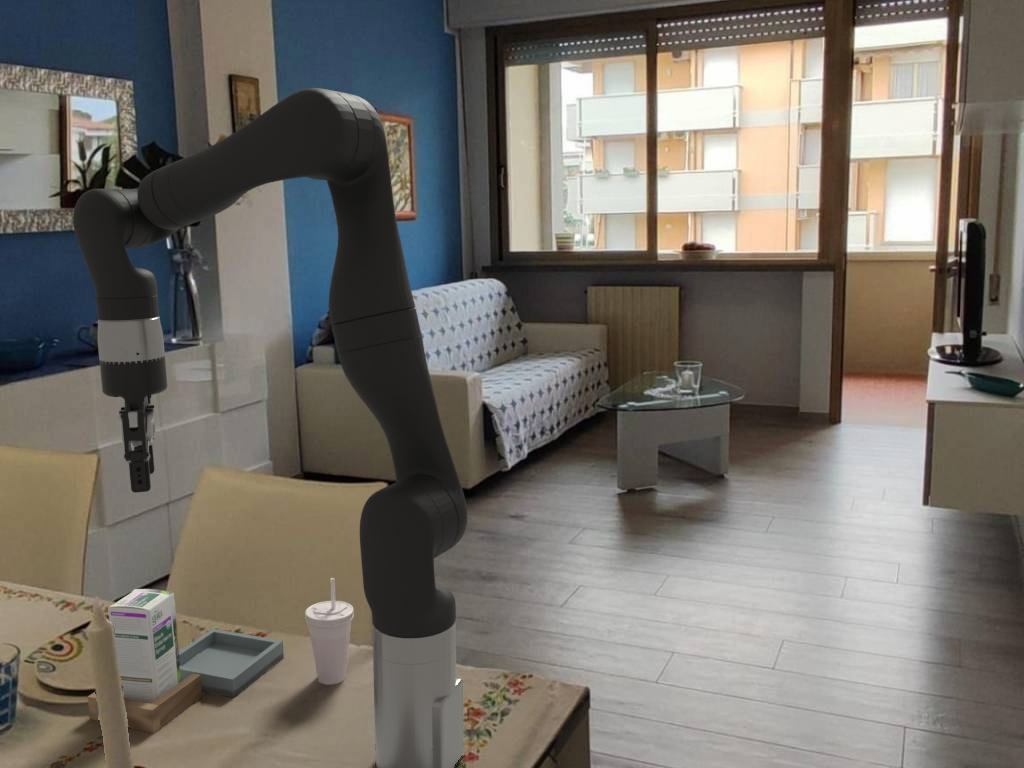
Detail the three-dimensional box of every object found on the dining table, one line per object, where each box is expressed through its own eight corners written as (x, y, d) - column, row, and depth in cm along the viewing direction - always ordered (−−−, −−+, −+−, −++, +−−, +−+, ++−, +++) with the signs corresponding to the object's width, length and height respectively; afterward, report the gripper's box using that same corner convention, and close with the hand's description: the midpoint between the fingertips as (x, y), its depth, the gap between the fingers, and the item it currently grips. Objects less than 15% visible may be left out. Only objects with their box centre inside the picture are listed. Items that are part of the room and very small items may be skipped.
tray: (283, 657, 135) (282, 640, 135) (234, 697, 124) (232, 679, 124) (213, 644, 139) (212, 628, 138) (159, 682, 128) (158, 664, 128)
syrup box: (159, 719, 119) (151, 609, 116) (115, 714, 120) (106, 605, 118) (183, 696, 125) (176, 590, 122) (141, 691, 126) (133, 586, 123)
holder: (201, 696, 125) (200, 675, 124) (153, 733, 116) (152, 710, 116) (140, 684, 128) (139, 663, 127) (89, 719, 119) (87, 696, 119)
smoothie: (360, 684, 128) (357, 584, 125) (311, 693, 125) (307, 591, 123) (350, 663, 134) (347, 567, 131) (303, 671, 131) (299, 573, 129)
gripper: (162, 361, 113) (173, 494, 116) (166, 345, 126) (176, 465, 129) (92, 365, 111) (105, 501, 114) (105, 348, 124) (116, 471, 127)
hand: (143, 482), depth 122 cm, fingers open, 8 cm apart
